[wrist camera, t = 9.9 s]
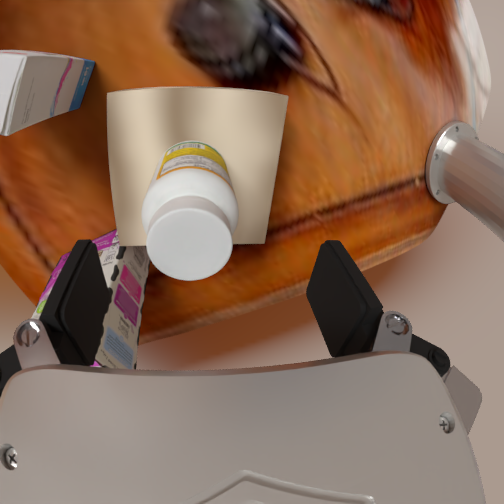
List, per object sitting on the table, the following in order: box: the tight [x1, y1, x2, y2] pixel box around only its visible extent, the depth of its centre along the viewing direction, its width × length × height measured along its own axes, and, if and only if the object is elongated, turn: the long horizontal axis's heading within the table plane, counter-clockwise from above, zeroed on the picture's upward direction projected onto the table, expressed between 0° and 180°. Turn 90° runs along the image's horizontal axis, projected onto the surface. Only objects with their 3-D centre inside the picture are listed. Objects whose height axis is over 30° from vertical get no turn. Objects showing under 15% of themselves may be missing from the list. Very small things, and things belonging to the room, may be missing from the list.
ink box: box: [0, 50, 95, 136], centre depth 11 cm, size 9×5×12 cm, turn 62°
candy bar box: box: [31, 229, 150, 369], centre depth 21 cm, size 11×5×16 cm, turn 106°
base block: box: [107, 87, 288, 246], centre depth 22 cm, size 13×13×5 cm
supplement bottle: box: [141, 141, 239, 281], centre depth 16 cm, size 5×5×10 cm
